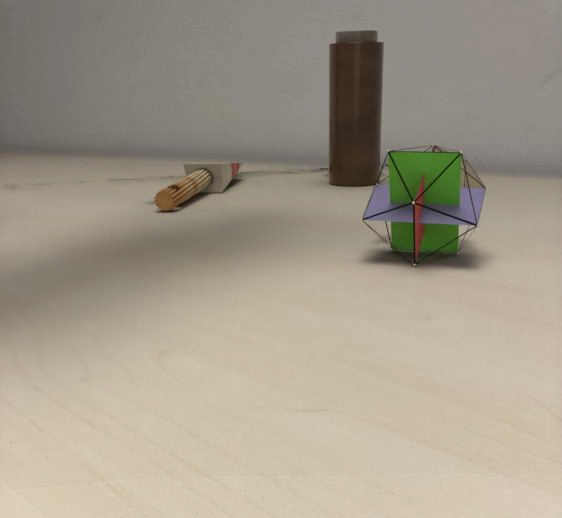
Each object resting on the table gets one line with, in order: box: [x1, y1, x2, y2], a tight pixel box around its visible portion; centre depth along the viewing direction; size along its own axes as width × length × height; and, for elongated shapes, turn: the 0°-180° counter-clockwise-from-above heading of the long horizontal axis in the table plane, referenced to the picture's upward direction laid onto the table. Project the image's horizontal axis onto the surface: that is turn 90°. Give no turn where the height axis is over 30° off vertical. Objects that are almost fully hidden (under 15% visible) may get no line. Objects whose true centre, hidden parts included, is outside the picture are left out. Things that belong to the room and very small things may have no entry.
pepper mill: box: [328, 29, 385, 187], centre depth 70 cm, size 5×5×14 cm
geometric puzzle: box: [360, 143, 488, 267], centre depth 42 cm, size 7×7×8 cm
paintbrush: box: [154, 161, 245, 212], centre depth 68 cm, size 4×3×20 cm
